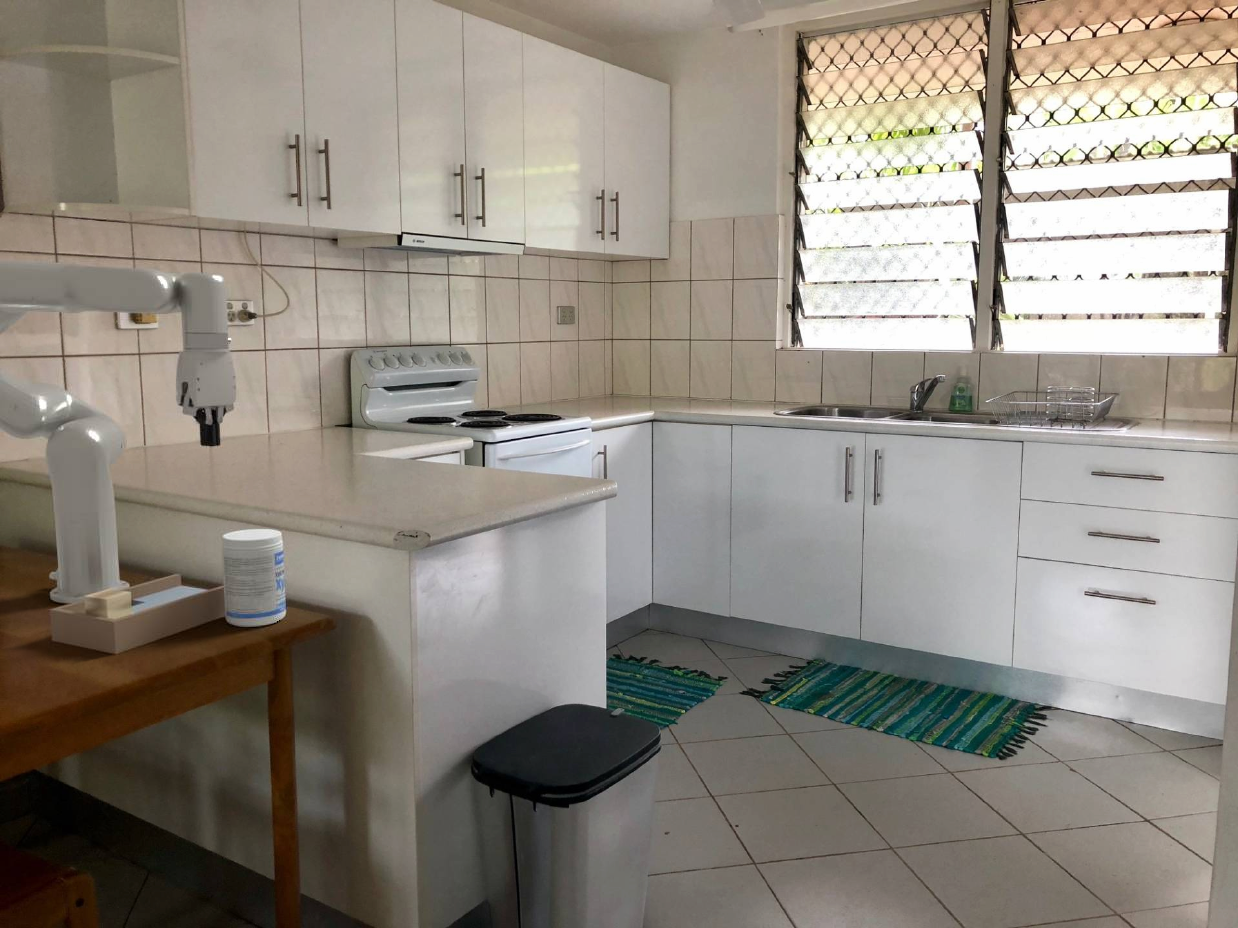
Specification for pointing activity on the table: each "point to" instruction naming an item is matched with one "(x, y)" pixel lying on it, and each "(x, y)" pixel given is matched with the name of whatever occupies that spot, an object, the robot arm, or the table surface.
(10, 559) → the table surface
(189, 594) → the box
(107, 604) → the maple block
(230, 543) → the supplement tub
